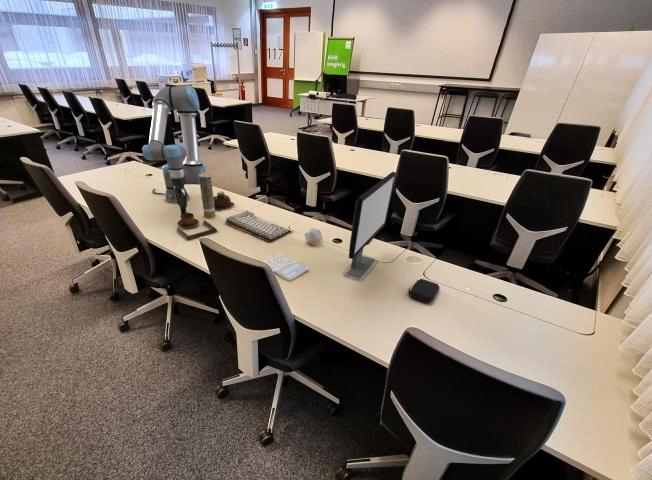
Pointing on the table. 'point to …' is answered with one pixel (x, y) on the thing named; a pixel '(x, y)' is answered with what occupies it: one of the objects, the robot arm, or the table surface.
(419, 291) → the carrying case
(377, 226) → the computer monitor
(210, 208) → the bark textured cylinder
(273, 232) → the mechanical keyboard
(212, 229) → the bay
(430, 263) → the table surface
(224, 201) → the dark brown mound
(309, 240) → the die
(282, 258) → the calculator
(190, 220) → the cup and saucer
